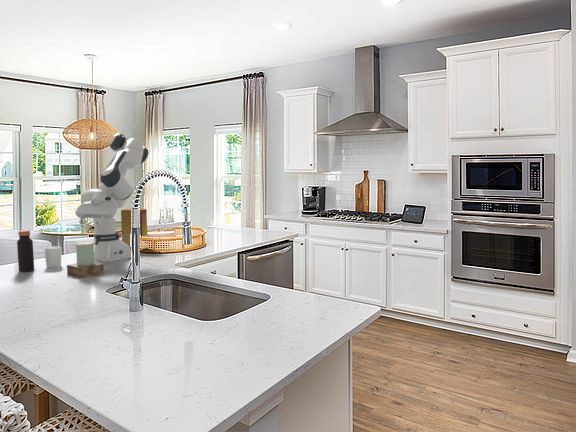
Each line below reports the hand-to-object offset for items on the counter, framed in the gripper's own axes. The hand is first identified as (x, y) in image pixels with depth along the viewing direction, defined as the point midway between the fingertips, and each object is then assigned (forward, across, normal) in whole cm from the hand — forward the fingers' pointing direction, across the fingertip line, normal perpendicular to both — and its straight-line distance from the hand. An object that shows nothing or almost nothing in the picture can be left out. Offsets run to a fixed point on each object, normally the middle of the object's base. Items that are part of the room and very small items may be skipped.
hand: (89, 223), depth 230 cm
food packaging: (-27, -13, +61) cm, 68 cm away
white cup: (+13, -26, +21) cm, 36 cm away
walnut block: (+21, +1, +13) cm, 25 cm away
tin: (+18, +1, +9) cm, 20 cm away
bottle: (+21, -32, +13) cm, 41 cm away
